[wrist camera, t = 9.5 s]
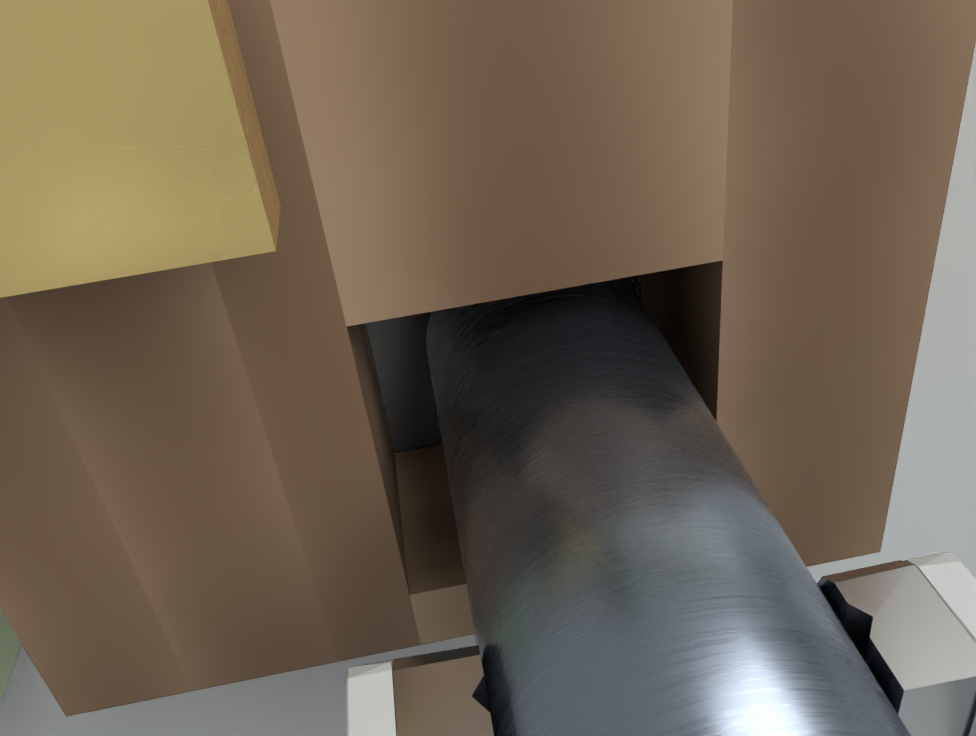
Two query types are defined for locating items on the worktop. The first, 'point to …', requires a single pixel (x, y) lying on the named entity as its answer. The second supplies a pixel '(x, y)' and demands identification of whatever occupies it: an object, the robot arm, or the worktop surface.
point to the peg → (625, 538)
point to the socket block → (465, 281)
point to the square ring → (7, 652)
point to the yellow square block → (126, 142)
